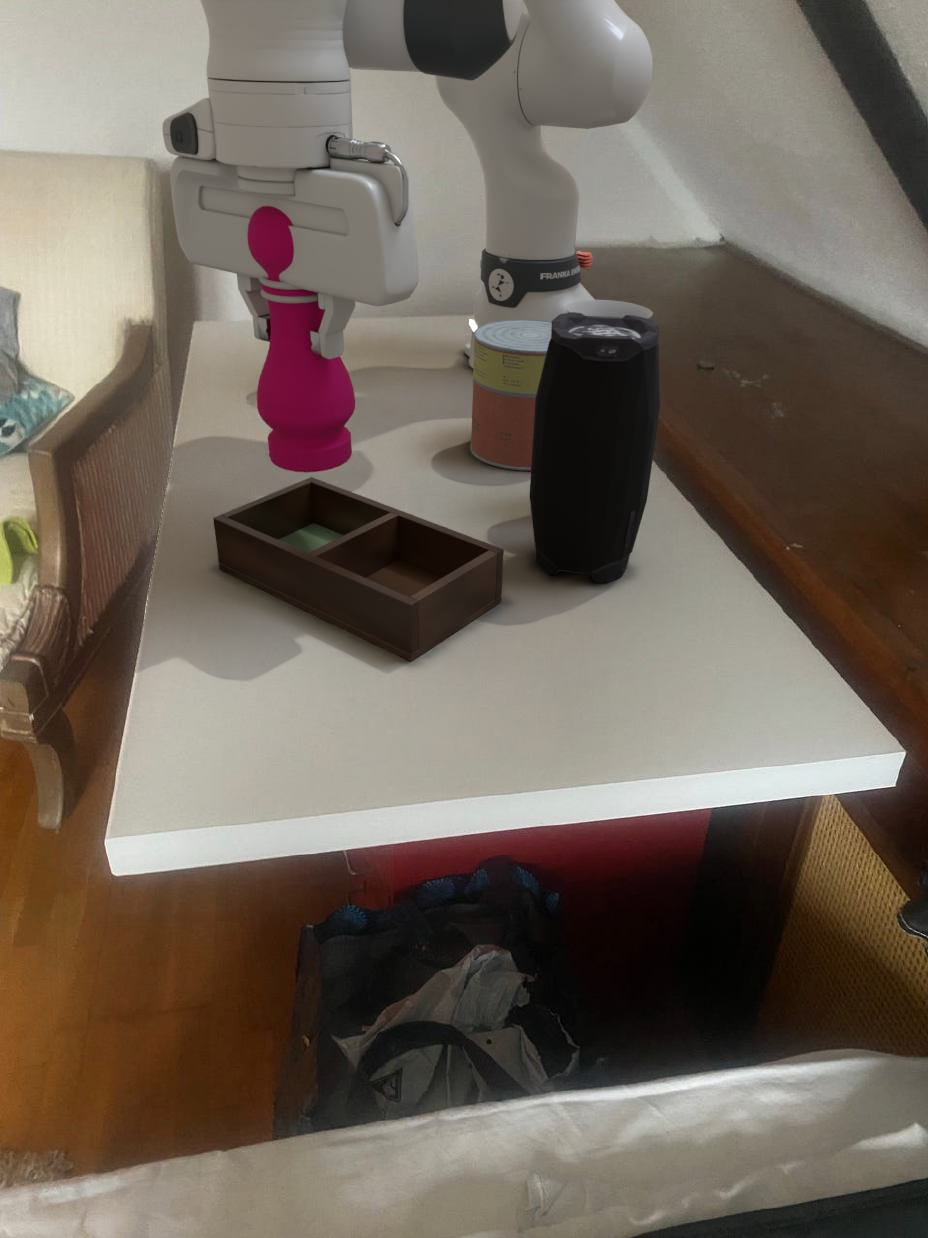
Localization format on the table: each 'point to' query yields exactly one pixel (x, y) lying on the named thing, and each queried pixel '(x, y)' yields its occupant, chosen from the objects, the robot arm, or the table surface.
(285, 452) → the pepper mill
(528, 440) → the canned food
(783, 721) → the table surface
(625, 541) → the portable speaker
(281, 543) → the compartment tray
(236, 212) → the robot arm
